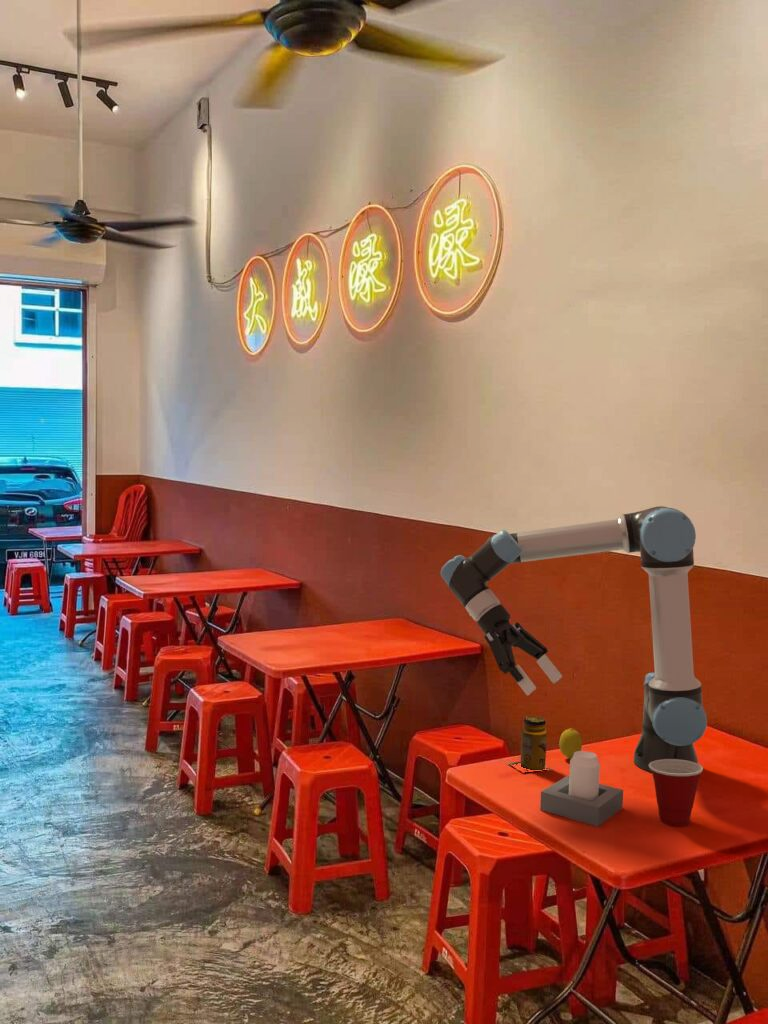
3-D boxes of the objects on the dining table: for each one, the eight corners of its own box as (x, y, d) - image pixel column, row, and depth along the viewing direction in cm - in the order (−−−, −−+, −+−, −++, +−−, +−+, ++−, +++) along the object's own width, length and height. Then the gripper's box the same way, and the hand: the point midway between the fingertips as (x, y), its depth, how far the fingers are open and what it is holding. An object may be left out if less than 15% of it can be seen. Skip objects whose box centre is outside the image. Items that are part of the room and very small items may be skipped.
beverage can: (586, 802, 191) (588, 748, 191) (603, 813, 186) (606, 757, 185) (562, 805, 189) (564, 751, 188) (579, 816, 183) (581, 760, 183)
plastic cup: (658, 806, 190) (660, 752, 190) (708, 820, 183) (710, 764, 183) (637, 821, 182) (640, 764, 181) (689, 836, 175) (692, 777, 174)
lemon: (569, 754, 223) (571, 723, 223) (585, 760, 219) (587, 729, 218) (554, 757, 220) (555, 726, 220) (570, 764, 216) (571, 732, 215)
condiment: (552, 770, 211) (554, 721, 211) (523, 774, 208) (525, 724, 207) (535, 760, 218) (537, 713, 217) (506, 764, 214) (508, 716, 214)
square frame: (567, 792, 197) (567, 775, 196) (622, 808, 189) (623, 789, 188) (540, 810, 186) (541, 791, 186) (597, 826, 178) (598, 807, 178)
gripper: (503, 615, 218) (557, 684, 211) (451, 630, 198) (508, 707, 190) (523, 596, 215) (578, 666, 207) (471, 609, 195) (531, 687, 187)
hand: (545, 685), depth 199 cm, fingers open, 13 cm apart
